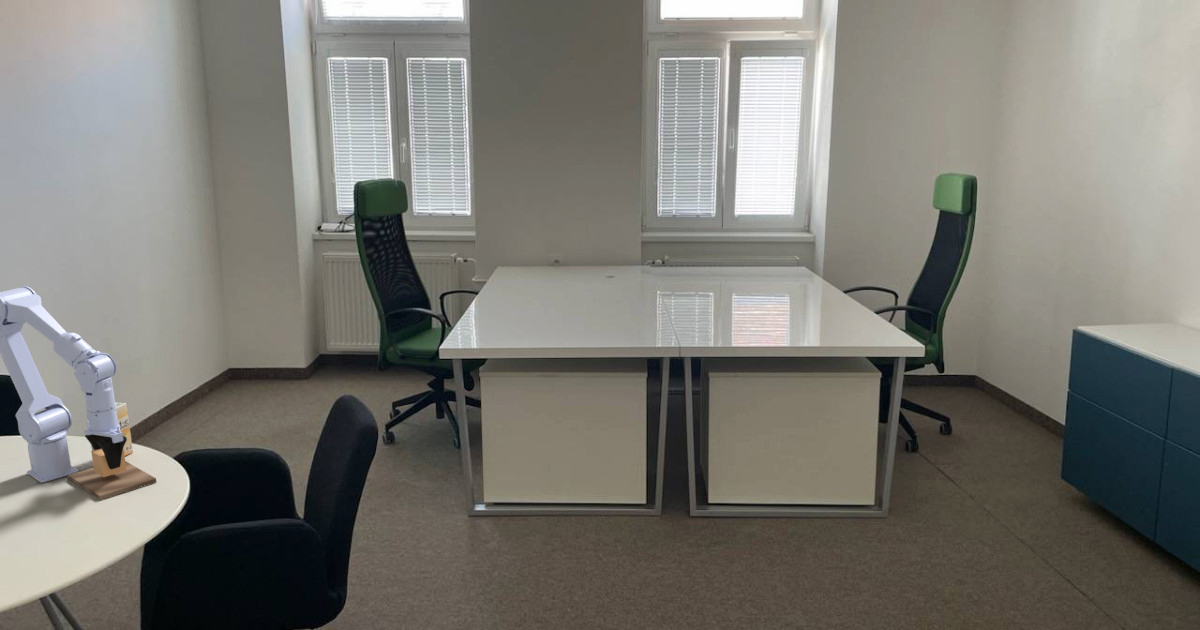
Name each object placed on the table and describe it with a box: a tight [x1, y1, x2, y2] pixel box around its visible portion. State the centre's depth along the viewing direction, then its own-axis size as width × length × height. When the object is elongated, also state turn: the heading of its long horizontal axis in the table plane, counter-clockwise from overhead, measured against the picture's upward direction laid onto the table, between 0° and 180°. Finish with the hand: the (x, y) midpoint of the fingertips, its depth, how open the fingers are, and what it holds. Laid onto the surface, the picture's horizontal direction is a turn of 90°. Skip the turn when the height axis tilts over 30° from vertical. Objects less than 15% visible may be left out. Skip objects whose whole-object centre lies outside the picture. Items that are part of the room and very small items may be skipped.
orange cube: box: [90, 449, 127, 477], centre depth 204 cm, size 5×5×5 cm
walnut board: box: [67, 460, 157, 501], centre depth 206 cm, size 18×12×1 cm, turn 50°
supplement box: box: [86, 402, 134, 457], centre depth 217 cm, size 8×5×13 cm, turn 168°
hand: (109, 464), depth 205 cm, fingers closed on orange cube, 5 cm apart
